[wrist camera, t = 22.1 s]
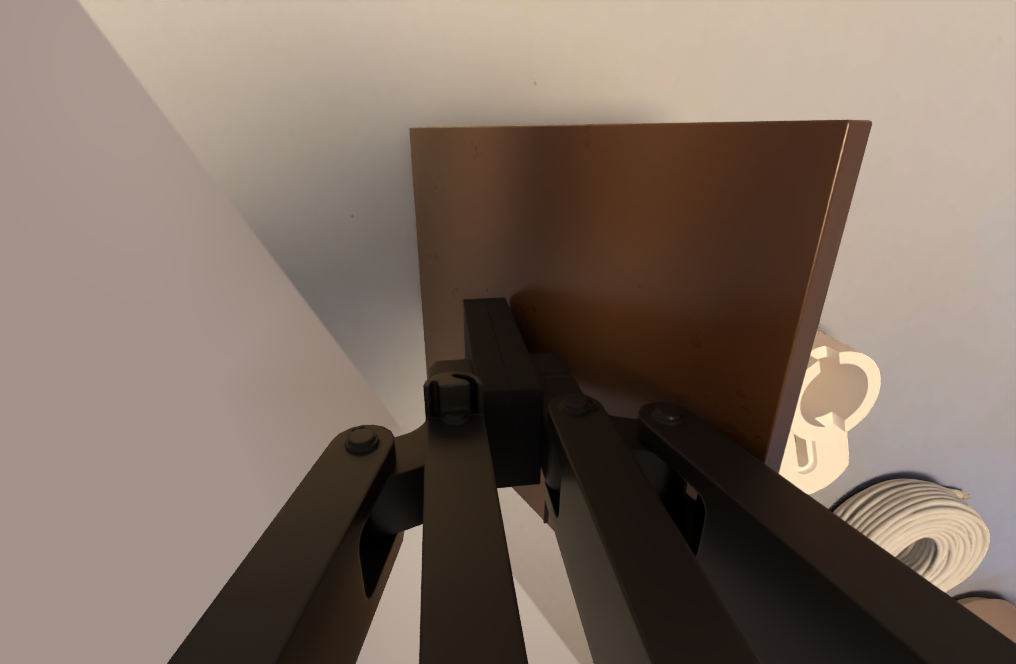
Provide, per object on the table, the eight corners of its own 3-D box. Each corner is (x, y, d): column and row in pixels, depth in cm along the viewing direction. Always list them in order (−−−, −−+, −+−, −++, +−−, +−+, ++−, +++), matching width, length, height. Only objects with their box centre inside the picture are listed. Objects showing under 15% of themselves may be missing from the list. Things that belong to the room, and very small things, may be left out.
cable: (971, 489, 59) (1027, 527, 53) (881, 591, 64) (923, 635, 58) (870, 453, 54) (920, 490, 48) (781, 567, 59) (817, 611, 54)
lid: (874, 120, 8) (850, 120, 7) (725, 674, 13) (707, 691, 13) (426, 127, 21) (409, 127, 21) (441, 397, 26) (428, 401, 26)
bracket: (733, 342, 46) (779, 375, 40) (819, 308, 46) (878, 336, 39) (761, 493, 54) (803, 539, 48) (834, 464, 54) (885, 507, 48)
